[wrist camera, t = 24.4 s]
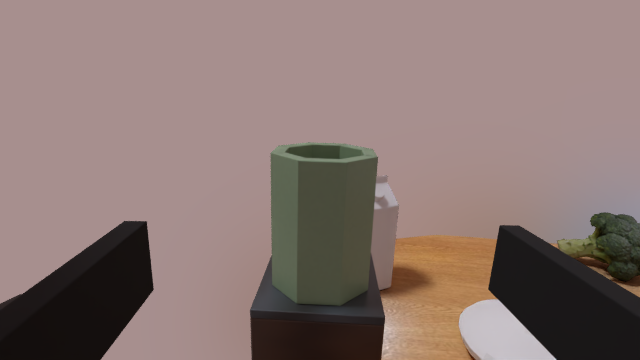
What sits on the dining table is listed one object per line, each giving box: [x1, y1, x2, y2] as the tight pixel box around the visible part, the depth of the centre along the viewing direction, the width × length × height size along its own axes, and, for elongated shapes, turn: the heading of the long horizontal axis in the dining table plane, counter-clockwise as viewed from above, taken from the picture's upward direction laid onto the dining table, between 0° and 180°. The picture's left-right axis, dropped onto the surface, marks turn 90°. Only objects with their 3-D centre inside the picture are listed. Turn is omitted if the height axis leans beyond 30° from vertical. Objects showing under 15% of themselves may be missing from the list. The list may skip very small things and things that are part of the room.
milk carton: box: [371, 175, 399, 290], centre depth 56 cm, size 7×7×19 cm
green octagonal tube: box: [271, 143, 378, 306], centre depth 22 cm, size 6×6×9 cm
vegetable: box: [557, 213, 640, 281], centre depth 64 cm, size 12×13×15 cm
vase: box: [459, 300, 556, 360], centre depth 41 cm, size 16×16×7 cm
